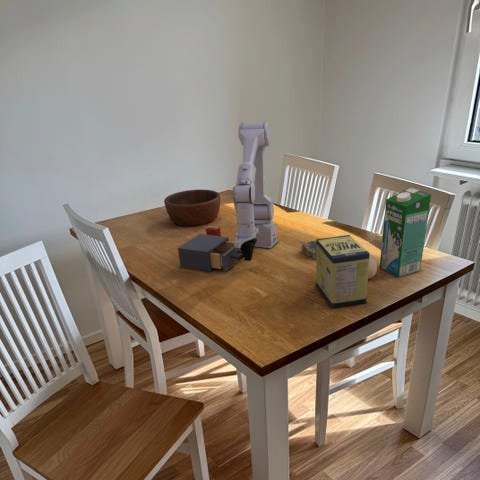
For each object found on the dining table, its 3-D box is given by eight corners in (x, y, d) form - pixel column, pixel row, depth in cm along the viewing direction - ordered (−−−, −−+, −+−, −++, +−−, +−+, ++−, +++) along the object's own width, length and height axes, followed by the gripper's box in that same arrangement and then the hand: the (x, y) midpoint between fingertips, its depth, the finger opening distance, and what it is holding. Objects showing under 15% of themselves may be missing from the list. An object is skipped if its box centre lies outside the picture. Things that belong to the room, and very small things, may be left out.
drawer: (253, 258, 162) (252, 242, 159) (236, 273, 152) (234, 257, 150) (216, 252, 169) (214, 238, 166) (197, 267, 159) (195, 251, 156)
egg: (369, 273, 147) (371, 250, 143) (379, 279, 143) (382, 256, 138) (355, 276, 146) (356, 253, 142) (364, 283, 141) (366, 260, 137)
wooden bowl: (175, 211, 220) (172, 190, 214) (226, 210, 216) (224, 188, 211) (160, 229, 199) (156, 206, 193) (216, 228, 195) (214, 204, 190)
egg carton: (298, 251, 167) (298, 240, 165) (315, 246, 169) (315, 236, 167) (315, 260, 158) (315, 249, 156) (332, 255, 161) (333, 244, 159)
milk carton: (379, 267, 150) (386, 191, 137) (401, 261, 153) (410, 186, 140) (397, 277, 143) (407, 198, 130) (420, 270, 146) (431, 193, 133)
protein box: (346, 280, 144) (349, 233, 136) (366, 303, 130) (370, 253, 122) (315, 285, 143) (315, 238, 135) (332, 308, 129) (333, 258, 121)
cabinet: (230, 256, 167) (228, 237, 164) (210, 272, 157) (208, 252, 153) (201, 252, 173) (199, 233, 169) (180, 267, 162) (177, 247, 158)
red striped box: (221, 244, 178) (219, 226, 174) (217, 247, 176) (215, 228, 172) (211, 243, 180) (209, 225, 176) (207, 246, 178) (205, 227, 174)
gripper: (244, 213, 156) (247, 250, 163) (224, 228, 145) (227, 266, 152) (263, 215, 153) (265, 253, 160) (243, 230, 142) (246, 269, 149)
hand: (248, 260), depth 156 cm, fingers closed, pressing on drawer
